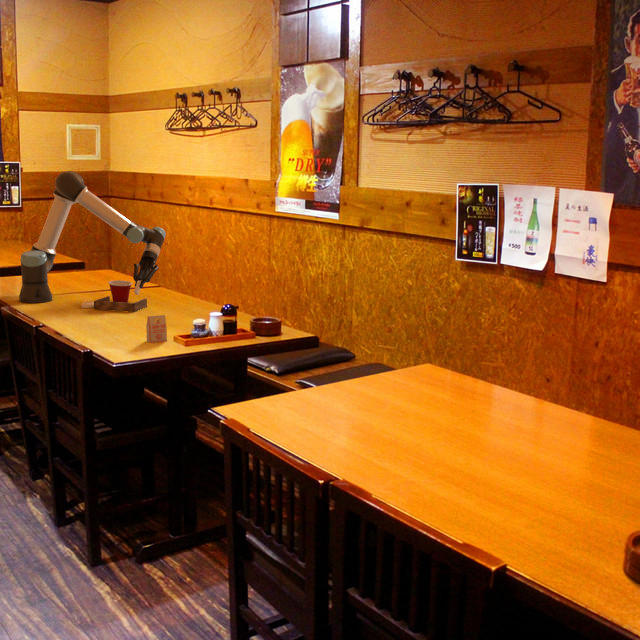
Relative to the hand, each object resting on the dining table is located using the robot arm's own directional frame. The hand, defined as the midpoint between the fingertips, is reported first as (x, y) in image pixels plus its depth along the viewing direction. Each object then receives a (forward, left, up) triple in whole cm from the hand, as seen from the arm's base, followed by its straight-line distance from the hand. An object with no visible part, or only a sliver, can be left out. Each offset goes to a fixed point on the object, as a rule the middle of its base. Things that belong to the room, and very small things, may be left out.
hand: (136, 292), depth 367 cm
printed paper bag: (+43, -70, -5) cm, 82 cm away
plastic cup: (-1, -13, -5) cm, 14 cm away
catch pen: (0, -16, -5) cm, 16 cm away
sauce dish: (-15, -17, -5) cm, 23 cm away
